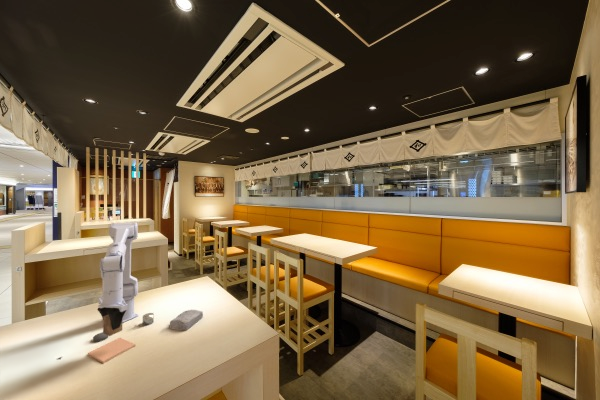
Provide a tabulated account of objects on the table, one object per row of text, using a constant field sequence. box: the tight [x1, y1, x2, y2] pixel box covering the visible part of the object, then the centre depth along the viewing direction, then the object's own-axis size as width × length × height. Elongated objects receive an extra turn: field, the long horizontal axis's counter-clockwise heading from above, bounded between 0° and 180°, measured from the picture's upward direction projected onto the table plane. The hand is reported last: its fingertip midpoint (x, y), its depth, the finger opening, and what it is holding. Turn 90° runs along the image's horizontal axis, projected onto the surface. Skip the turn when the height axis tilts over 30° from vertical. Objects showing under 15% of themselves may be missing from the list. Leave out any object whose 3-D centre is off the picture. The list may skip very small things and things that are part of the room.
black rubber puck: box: [92, 331, 109, 343], centre depth 90 cm, size 4×4×2 cm
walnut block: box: [102, 315, 123, 337], centre depth 83 cm, size 4×4×6 cm
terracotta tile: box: [87, 337, 137, 364], centre depth 83 cm, size 10×10×1 cm
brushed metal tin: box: [142, 312, 155, 326], centre depth 101 cm, size 4×4×4 cm
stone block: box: [169, 309, 204, 331], centre depth 102 cm, size 12×5×10 cm
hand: (112, 326), depth 83 cm, fingers closed on walnut block, 4 cm apart
